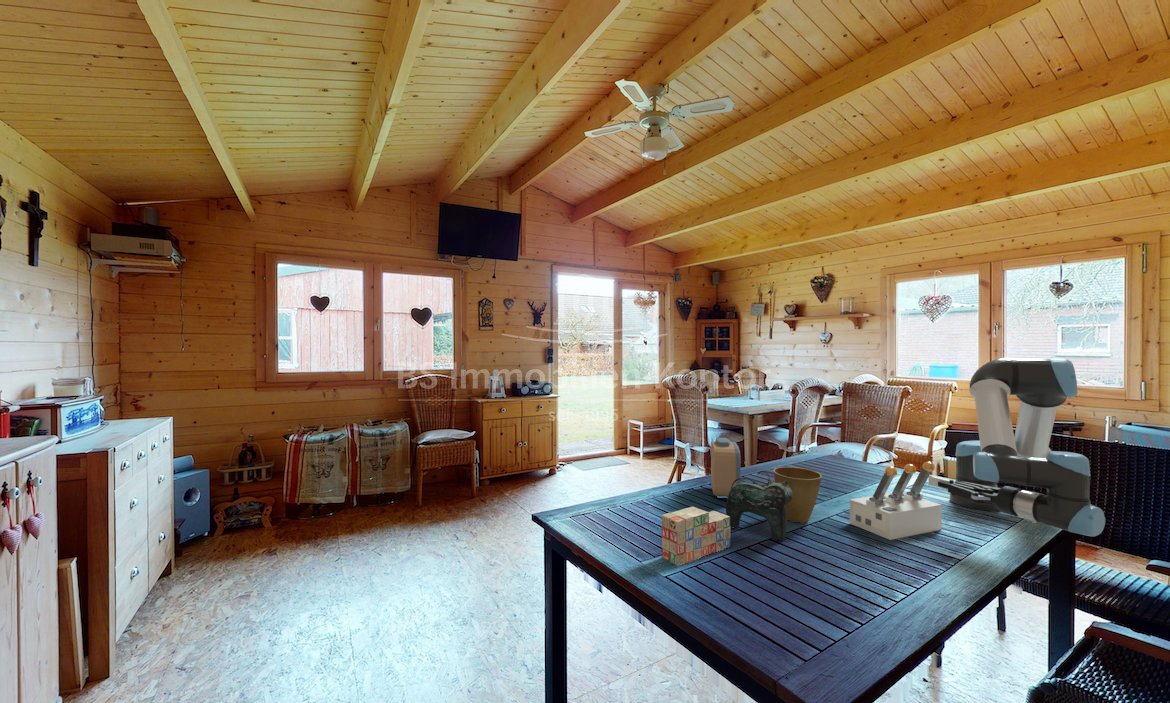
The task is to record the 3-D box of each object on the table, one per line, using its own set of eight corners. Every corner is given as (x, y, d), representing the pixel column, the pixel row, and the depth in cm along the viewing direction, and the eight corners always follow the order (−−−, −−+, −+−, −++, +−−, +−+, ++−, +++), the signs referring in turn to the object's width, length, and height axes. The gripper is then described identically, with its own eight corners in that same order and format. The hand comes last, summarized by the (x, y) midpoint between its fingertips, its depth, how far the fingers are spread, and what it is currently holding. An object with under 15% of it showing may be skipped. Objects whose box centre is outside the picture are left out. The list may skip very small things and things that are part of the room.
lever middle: (893, 496, 154) (911, 461, 148) (901, 502, 151) (920, 467, 145) (885, 497, 153) (903, 462, 147) (894, 504, 150) (913, 468, 144)
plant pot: (773, 523, 154) (773, 475, 154) (773, 509, 168) (773, 465, 167) (823, 530, 148) (823, 480, 148) (819, 514, 162) (819, 469, 162)
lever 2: (911, 493, 157) (929, 459, 151) (919, 499, 154) (939, 465, 148) (903, 494, 156) (922, 460, 150) (912, 501, 153) (931, 466, 147)
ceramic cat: (793, 539, 142) (793, 473, 141) (785, 545, 137) (785, 478, 137) (731, 522, 155) (731, 462, 155) (722, 528, 150) (722, 466, 150)
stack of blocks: (714, 540, 141) (714, 500, 141) (731, 548, 136) (731, 506, 135) (661, 558, 129) (661, 514, 129) (677, 567, 124) (677, 521, 124)
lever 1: (874, 498, 151) (892, 463, 145) (882, 505, 148) (901, 470, 142) (866, 500, 150) (884, 464, 144) (875, 507, 147) (893, 471, 141)
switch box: (898, 514, 162) (899, 487, 162) (941, 529, 149) (941, 499, 149) (848, 523, 154) (848, 494, 154) (889, 540, 141) (889, 508, 141)
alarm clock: (740, 503, 174) (740, 445, 174) (714, 501, 176) (714, 444, 176) (734, 487, 194) (734, 435, 194) (710, 486, 196) (710, 434, 196)
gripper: (1005, 520, 124) (916, 494, 146) (1035, 514, 129) (943, 489, 151) (1005, 492, 124) (916, 470, 146) (1035, 486, 129) (943, 466, 151)
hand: (930, 480), depth 149 cm, fingers closed
